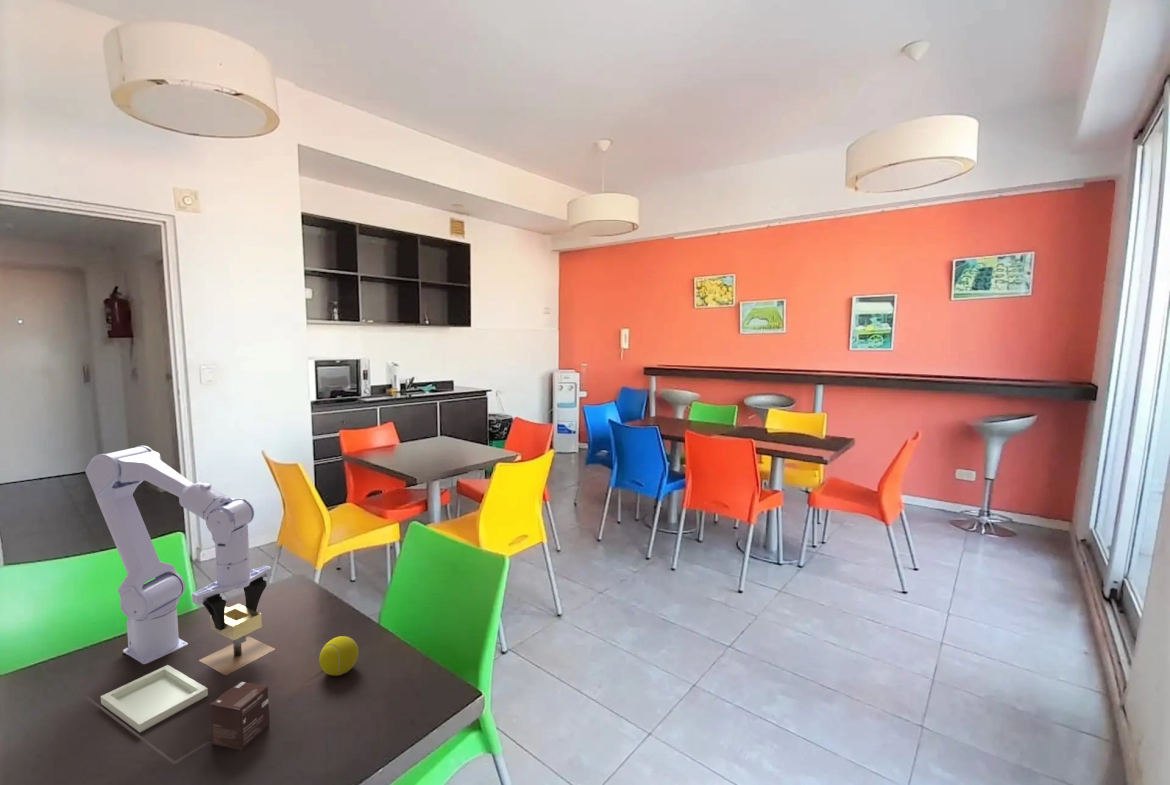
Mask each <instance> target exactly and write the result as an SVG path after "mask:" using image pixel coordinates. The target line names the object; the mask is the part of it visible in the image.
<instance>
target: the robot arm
mask: <svg viewBox="0 0 1170 785" xmlns="http://www.w3.org/2000/svg"><path fill="white" fill-rule="evenodd" d="M84 472H85V474H86V477H87V479H88V482H89V483H90V486H91V488H92V490H93V494H94V496H95V499H96V501H97V505H98V506H99V509H100V511H101V513H102V516H103V518H104V521H105V523H106V526H107V528H108V530H109V533H110V534H111V537H112V540H113V542H114V545H115V547H116V549H117V550H116V551H117V552H118V555H119V556H120V559H121V561H122V564H123V566H124V569H125V571H126V573H127V575H126V577H125V578H124V580H123V581H122V582H121V584H120V585H119V587H118V588H117V592H118V593H119V594H118V595H119V598H120V604H119V606H120V610H121V611H122V614H123V615H125V617H127V620H126V632H127V645H128V647H125V648H124V649H123V650H122V652H123V653H124V654H125V655H128V656H129V657H131V658H133V659H134V660H135V661H137V662H139V663H140V664H142V665H147V664H150V663H151V662H153V661H156V660H158V659H160V658H162V657H165V656H167V655H169V654H171V653H174V652H176V651H178V650H180V649H183V648H185V647H186V646H188V645H189V643H188V642H186V641H184V640H183V639H181V638H180V637H179V620H178V609H177V608H178V607H177V605H178V604H179V603H180V598H181V597H182V596H183V594H184V593H185V591H186V582H185V580H184V579H183V577H182V576H181V575H180V573H178V571H176V568H175V565H173V564H171V563H166V562H163V561H161V560H160V558H159V556H158V553H157V550H156V549H155V546H154V543H153V541H152V539H151V536H150V534H149V531H148V529H147V526H146V524H145V522H144V520H143V517H142V515H141V512H140V509H139V507H138V505H137V503H136V500H135V497H134V496H133V494H134V492H135V491H136V489H137V487H138V486H139V485H140V484H142V482H144V481H146V482H148V483H150V484H151V485H153V486H156V487H157V488H160V489H162V490H164V491H166V492H167V493H169V494H172V495H174V496H176V497H178V499H179V501H178V503H179V505H180V506H181V507H182V508H184V509H186V510H187V511H189V512H191V513H192V514H194V515H195V516H197V517H199V518H200V519H202V520H204V521H205V525H206V528H207V529H208V531H209V532H210V534H211V536H212V537H211V538H212V541H213V543H214V546H215V547H214V548H215V549H214V552H215V568H216V569H215V570H216V571H215V572H216V581H214V582H212V583H210V584H208V585H207V586H204V587H203V588H201V589H199V590H197V591H195V592H191V600H192V603H193V604H195V605H197V606H199V605H201V604H202V605H203V606H204V607H205V609H206V610H207V611H208V613H209V616H211V617H212V619H213V622H214V625H215V628H216V629H218V630H220V631H221V630H223V629H224V627H225V619H224V611H225V607H226V604H227V600H225V599H223V597H222V596H221V595H222V594H225V593H227V592H230V591H233V590H236V589H239V590H240V589H243V592H244V597H245V607H247V608H249V609H252V610H254V611H256V612H257V609H258V606H259V603H260V599H261V597H262V596H263V595H262V594H263V592H264V591H265V589H266V587H267V586H268V585H267V584H268V583H267V581H266V580H265V579H264V578H269V577H272V575H273V574H272V567H271V566H269V565H263V566H261V567H257V568H252V569H251V566H250V545H249V544H250V543H249V540H250V539H249V524H250V523H251V522H252V521H253V519H254V516H255V510H254V507H253V505H252V504H251V503H250V502H249V501H248V500H246V499H245V498H242V497H240V498H239V497H238V498H234V497H230V496H228V495H225V494H224V493H222V492H220V491H219V490H217V489H215V488H213V487H212V484H210V483H208V482H201V481H199V482H194V483H193V482H192V481H190V480H189V479H187V478H186V477H185V476H184V475H182V474H181V473H179V472H178V471H177V470H175V469H173V468H172V467H171V466H170V465H168V464H167V463H165V462H164V461H162V456H161V454H160V452H158V451H155V450H153V449H152V448H151V447H149V446H147V445H137V446H135V447H131V448H127V449H123V450H117V451H113V452H109V453H100V454H99V453H98V454H96V455H95V456H93V457H91V460H90V461H89V463H88V465H87V467H86V469H85V471H84Z"/></svg>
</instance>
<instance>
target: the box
mask: <svg viewBox="0 0 1170 785" xmlns="http://www.w3.org/2000/svg"><path fill="white" fill-rule="evenodd" d="M269 706H270V704H269V686H268V685H262V684H257V683H250V682H245V681H239V682H238V683H236V684H235V685H234V686H232V687H230V688H229V689H228V690H225V691H224V692H223V693H222V694H221V695H219V696H218V697H217V698H216V699H215V700H213V701H212V702H210V704H209V712H210V727H211V728H210V730H211V744H212V745H214V746H219V747H227V748H231V749H236V750H243V749H244V748H246V747H247V746H248V745H249V744H250V743H251V742H253V741H254V740H255V739H256V738H257V737H258V736H259V735H260V734H262V733H263V731H265V729H267V728H268V727H269V726H270V723H271V722H270V721H271V720H270V707H269Z"/></svg>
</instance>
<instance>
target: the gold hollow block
mask: <svg viewBox="0 0 1170 785" xmlns="http://www.w3.org/2000/svg"><path fill="white" fill-rule="evenodd" d="M209 618H210V619H209V621H210V630H212V631H213V632H215V633H218V634H219V635H221V636H224V637H226V638H228V639H229V640H231V639H232V640H231V641H233V640H236V639H238V638H240V637H242V636H246V635H248V634H250V633H252V632H255V631H256V630H259V629H260V628H261V629H262V628H263V627H262V626H263V624H262V623H263V621H262V620H263V619H262V613H261V612H259V611H257V610H256V611H254V610H252V609H249V608H247V607H246V605H242V604H241V603H237V604H234V605H232V606H229V607H227V606H225V611H224V619H225V627H224V629H223V630H221V631H220V630H218V629H216V628H215V625H214V622H213V619H212V617H211V615H209Z"/></svg>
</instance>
